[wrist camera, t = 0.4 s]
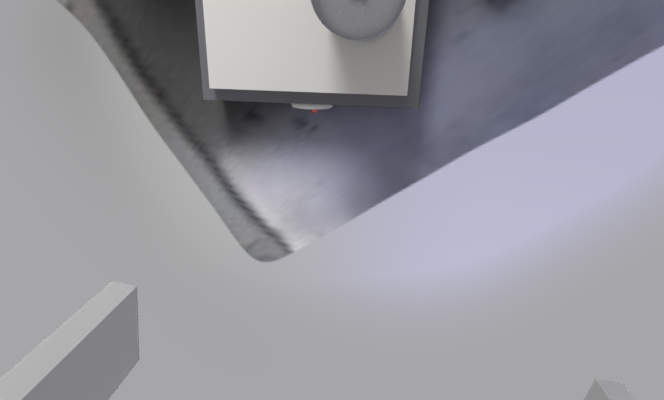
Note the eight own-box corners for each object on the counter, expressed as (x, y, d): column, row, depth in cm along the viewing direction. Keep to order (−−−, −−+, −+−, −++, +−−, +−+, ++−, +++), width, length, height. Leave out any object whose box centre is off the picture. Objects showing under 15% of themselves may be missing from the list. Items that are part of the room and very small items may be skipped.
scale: (208, -92, 31) (178, -118, 26) (432, -93, 29) (443, -121, 24) (222, 102, 36) (199, 110, 31) (413, 110, 34) (418, 119, 30)
